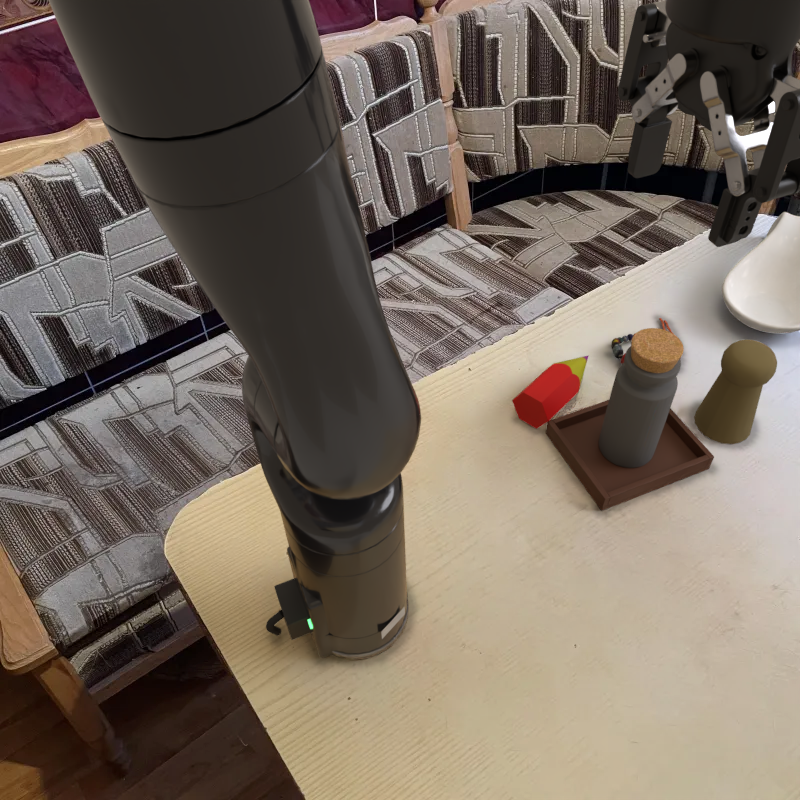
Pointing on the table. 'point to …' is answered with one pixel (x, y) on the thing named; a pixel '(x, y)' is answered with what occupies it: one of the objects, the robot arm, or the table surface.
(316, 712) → the table surface
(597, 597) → the table surface
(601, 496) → the tray
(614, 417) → the bottle
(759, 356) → the pepper shaker
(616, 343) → the necklace
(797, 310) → the spoon rest
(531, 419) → the pencil
